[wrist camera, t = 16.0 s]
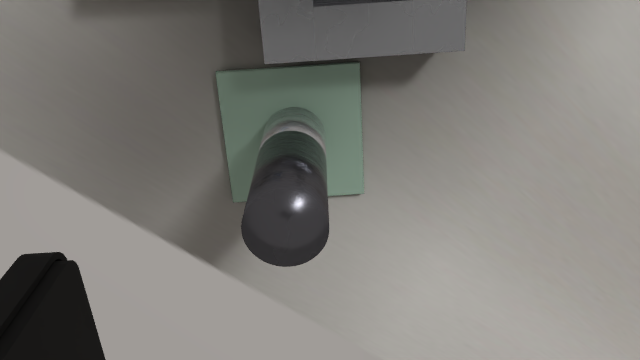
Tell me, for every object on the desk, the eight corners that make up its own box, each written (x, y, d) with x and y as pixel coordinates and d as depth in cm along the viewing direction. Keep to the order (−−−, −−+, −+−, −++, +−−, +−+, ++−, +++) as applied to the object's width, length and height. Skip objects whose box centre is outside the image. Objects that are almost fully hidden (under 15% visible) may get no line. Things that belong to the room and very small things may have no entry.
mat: (359, 61, 33) (359, 63, 33) (363, 190, 36) (363, 193, 36) (216, 71, 33) (215, 72, 33) (233, 199, 36) (233, 202, 36)
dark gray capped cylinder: (327, 163, 35) (331, 263, 25) (266, 167, 35) (246, 268, 25) (323, 104, 33) (326, 186, 23) (260, 109, 33) (235, 192, 23)
